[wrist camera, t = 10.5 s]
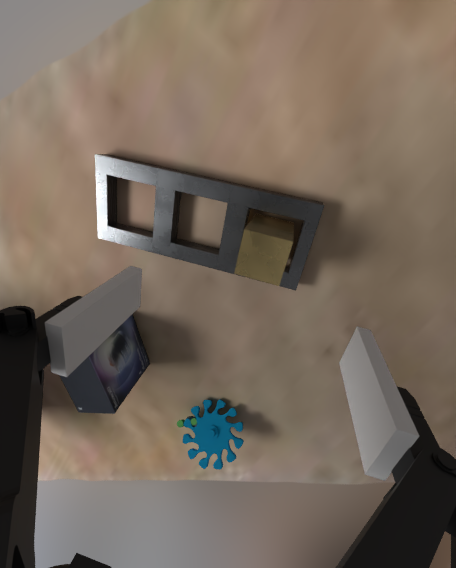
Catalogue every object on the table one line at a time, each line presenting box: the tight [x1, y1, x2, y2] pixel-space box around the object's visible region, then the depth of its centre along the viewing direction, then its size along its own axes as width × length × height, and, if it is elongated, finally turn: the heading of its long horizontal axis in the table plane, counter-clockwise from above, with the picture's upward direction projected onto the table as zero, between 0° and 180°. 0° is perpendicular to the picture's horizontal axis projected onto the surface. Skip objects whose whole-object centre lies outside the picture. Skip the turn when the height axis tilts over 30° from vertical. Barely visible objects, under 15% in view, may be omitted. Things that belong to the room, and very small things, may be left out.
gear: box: [177, 399, 244, 469], centre depth 46 cm, size 11×6×10 cm
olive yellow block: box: [234, 213, 294, 286], centre depth 29 cm, size 4×4×8 cm
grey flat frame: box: [95, 154, 324, 290], centre depth 33 cm, size 26×10×2 cm, turn 79°
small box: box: [60, 314, 150, 414], centre depth 40 cm, size 11×6×10 cm, turn 11°
